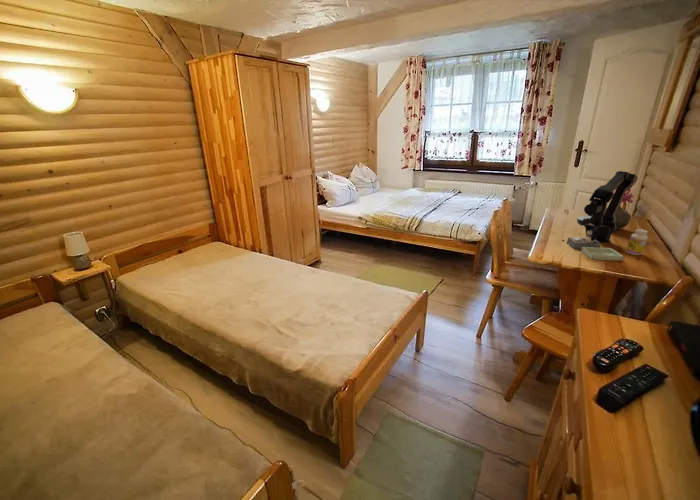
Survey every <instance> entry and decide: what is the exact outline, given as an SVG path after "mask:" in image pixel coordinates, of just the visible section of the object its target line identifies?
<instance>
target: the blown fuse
mask: <svg viewBox="0 0 700 500" xmlns="http://www.w3.org/2000/svg"><path fill="white" fill-rule="evenodd" d="M591 236H592V231H591V230H588V231H587V234H586V233H585V237H584V238H585V242H592V243H593V242H594V241H591Z"/></svg>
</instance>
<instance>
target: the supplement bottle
mask: <svg viewBox="0 0 700 500" xmlns="http://www.w3.org/2000/svg"><path fill="white" fill-rule="evenodd" d="M648 232H649V231H648V230H646V229H642V228H636V229H635V232H634V233H632V234H631V235H630V237H629V240H628V242H627V243H628V244H627V247H626V249H625V252H626V253H628V254H629V255H633V256H641V255H642V254H643V251H644V249H645V246H646V244H647V242H648V238H649V237H648V236H647V234H648Z"/></svg>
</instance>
